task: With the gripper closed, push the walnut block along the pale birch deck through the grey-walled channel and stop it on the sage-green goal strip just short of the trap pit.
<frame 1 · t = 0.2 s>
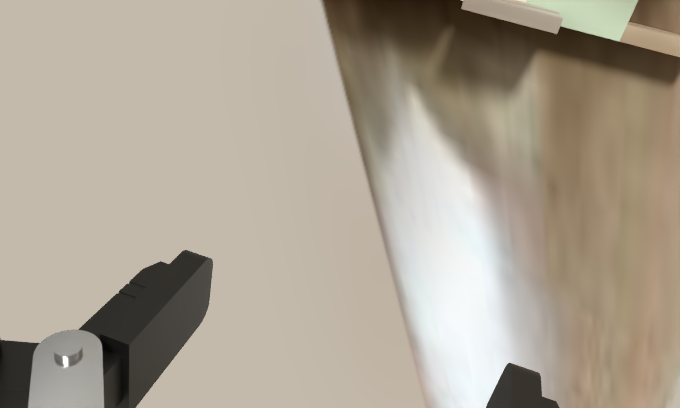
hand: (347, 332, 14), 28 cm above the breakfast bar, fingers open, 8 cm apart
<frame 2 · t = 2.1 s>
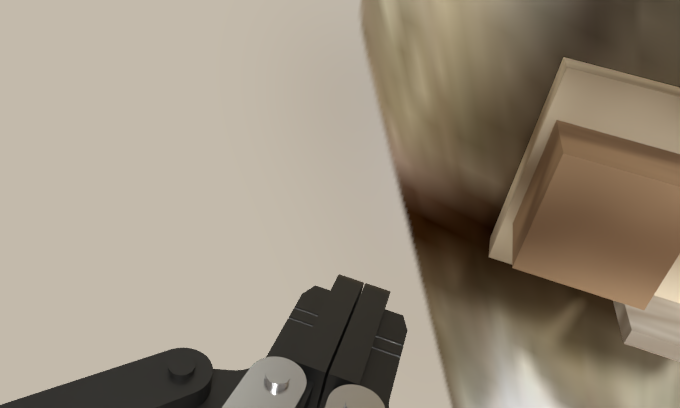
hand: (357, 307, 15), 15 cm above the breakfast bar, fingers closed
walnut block: (593, 192, 25), point 2 cm above the breakfast bar, touching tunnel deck
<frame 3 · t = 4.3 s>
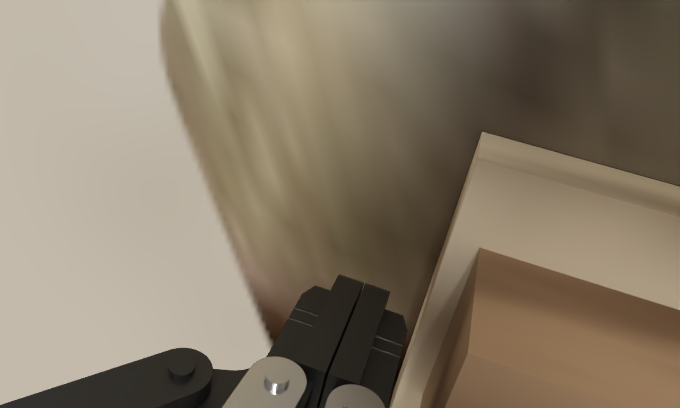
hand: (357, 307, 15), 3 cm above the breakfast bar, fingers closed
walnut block: (547, 360, 15), point 2 cm above the breakfast bar, touching gripper, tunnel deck
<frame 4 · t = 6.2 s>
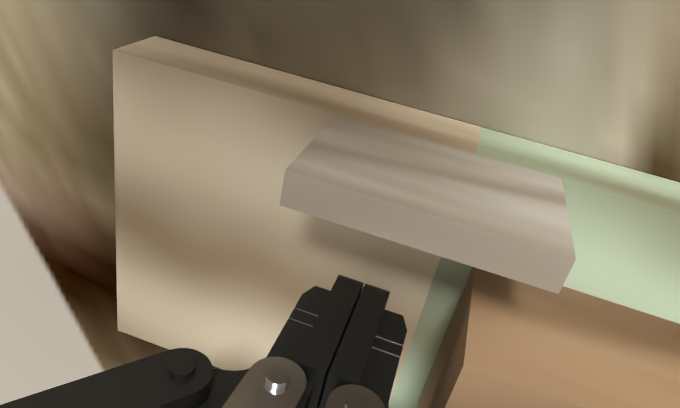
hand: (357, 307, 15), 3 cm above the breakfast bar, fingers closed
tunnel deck: (446, 279, 17), on the breakfast bar
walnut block: (541, 368, 15), point 2 cm above the breakfast bar, touching gripper, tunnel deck
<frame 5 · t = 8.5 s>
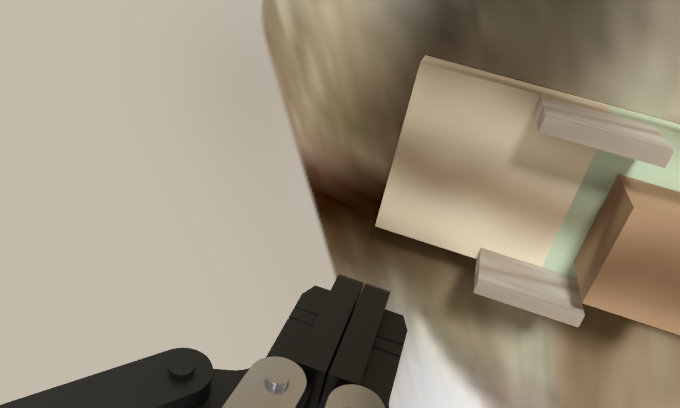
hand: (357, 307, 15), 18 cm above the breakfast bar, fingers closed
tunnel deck: (576, 191, 31), on the breakfast bar
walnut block: (647, 235, 29), point 2 cm above the breakfast bar, touching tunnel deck
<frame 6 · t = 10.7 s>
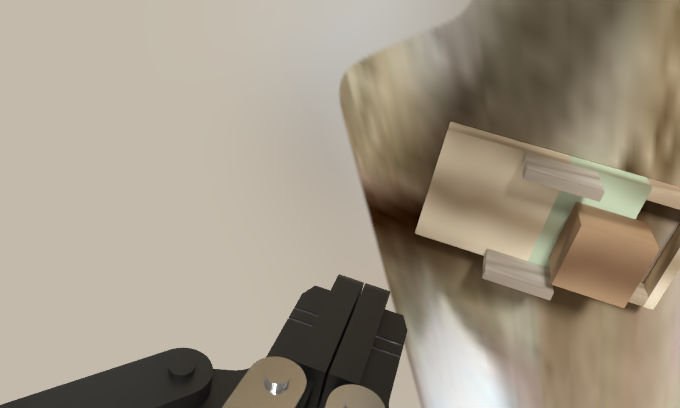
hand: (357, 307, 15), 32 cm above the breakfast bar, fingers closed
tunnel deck: (551, 210, 46), on the breakfast bar
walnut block: (596, 240, 44), point 2 cm above the breakfast bar, touching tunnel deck
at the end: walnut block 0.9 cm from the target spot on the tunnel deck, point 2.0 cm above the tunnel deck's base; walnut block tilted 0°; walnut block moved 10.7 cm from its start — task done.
